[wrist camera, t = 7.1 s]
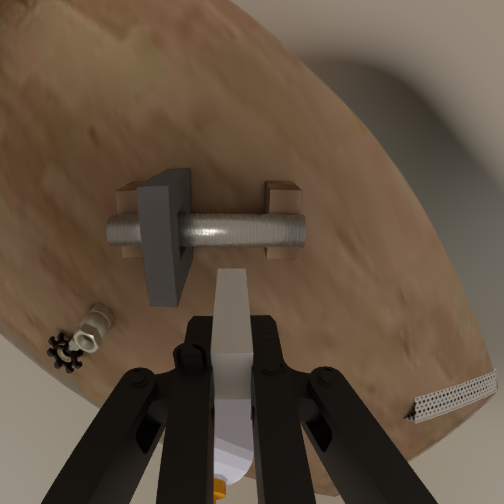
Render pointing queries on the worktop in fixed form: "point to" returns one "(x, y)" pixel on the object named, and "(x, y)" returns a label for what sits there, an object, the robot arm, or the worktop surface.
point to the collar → (164, 235)
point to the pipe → (218, 230)
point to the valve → (82, 338)
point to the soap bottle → (231, 443)
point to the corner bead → (455, 404)
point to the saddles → (276, 202)
